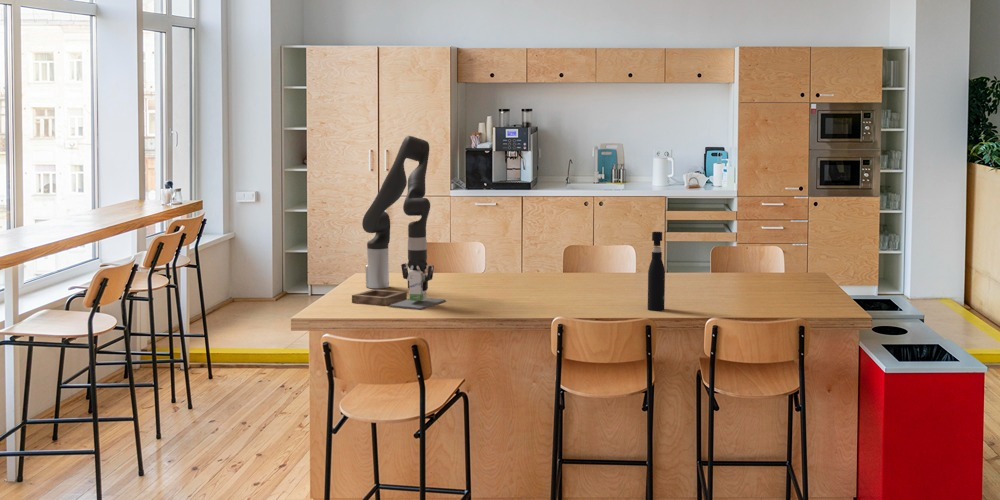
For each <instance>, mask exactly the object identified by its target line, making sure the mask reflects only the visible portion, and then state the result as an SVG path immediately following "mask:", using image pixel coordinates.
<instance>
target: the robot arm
mask: <svg viewBox="0 0 1000 500" xmlns="http://www.w3.org/2000/svg"><path fill="white" fill-rule="evenodd" d="M398 149H399V150H398V152H397V155H396V157H395V159H394V161H393V164H392V165H391V168H390V170H389V171H388V173H387V175H386V177H385V178H384V181H383V183H382V184H381V186H380V189H379V191H378V193H377V195H376V197H374V200H373V201H372V202H371V204H370V206H369V207H368V209H367V210H366V212H365V214H364V216H363V218H362V221H361V222H362V224H361V225H362V229H363V231H364V232H366V233H368V234H374V237H373V238H372V239H370V240H368V241H367V244H366V254H367V258H366V259H367V265H365V288H369V289H387V288H389V287H390V274H389V273H390V271H389V270H390V268H389V267H390V263H389V261H390V260H389V259H390V258H389V254H390V253H389V243H390V242H391V241H390V240H391V218H390V215H389V213H387V211H386V210H387V209H389V208H390V207H391V206H393V205H394V204H395V203H396V202H397V201H398V200H399V199H400V198H401V196H402V195H403V193H404V191H405V190H406V188H407V193H406V197H405V199H404V203H403V205H402V206H403V207H402V209H403V213H404V214H405V215H406V216H409V217H411V216H413V217H418V216H420V218H419V219H418V220H414V221H410V222H409V223H408V225H407V232H408V233H407V236H408V237H407V260H408V261H407V263H406V262H405V263H402V264H401V265H400V266H401V267H400V268H401V273H402V278H403V280H406V281H407V288H408V289H409V271H410V270H417V271H422V272H424V274H423V273H422V280H423V291H426V292H427V290H428V288H429V281H432V280H433V277H434V268H435V266H434V265H433V264H428V262H427V260H428V247H427V246H428V242H427V222H428V217H429V215H430V211H431V202H430V200H429V199H428V198H426V197H425V195H426V175H427V169H428V163H429V158H430V157H429V156H430V143H429V142H428V140H424V139H422V138H419V137H417V136H416V137H415V136H412V135H407V136H405V138H403V141H402V143H401V145H400V147H399V148H398ZM406 159H408V160H410V161H411V160H412V161H415V162H418V165H417V167H416V168H414V170H412V172H411V173H410V174H409V176H408V179H407V176H406V171H405V161H406ZM408 268H409V269H408ZM425 269H426V270H425Z"/></svg>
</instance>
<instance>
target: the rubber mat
mask: <svg viewBox="0 0 1000 500" xmlns="http://www.w3.org/2000/svg"><path fill="white" fill-rule="evenodd" d="M445 302H447V300H446V299H444V298H443V299H441V298H430V297H426V298H424V299H423V300H421V301H410V300H409V299H408V298H407V299H406V300H403V301H400V302H396V303H393V304H390V305H389V308H397V309H406V310H418V311H420V310H425V309H427V308H431V307H434V306H437V305H439V304H443V303H445Z"/></svg>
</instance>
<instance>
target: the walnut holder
mask: <svg viewBox="0 0 1000 500" xmlns="http://www.w3.org/2000/svg"><path fill="white" fill-rule="evenodd" d="M405 300H408V295H407V291H398V290H386V289H385V290H384V289H376V288H372V289H370V290H366V291H362V292H358V293H356V294H351V303H353V304H363V305H373V306H374V305H376V306H390V305H392V304H395V303H398V302H401V301H405Z"/></svg>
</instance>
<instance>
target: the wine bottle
mask: <svg viewBox="0 0 1000 500" xmlns="http://www.w3.org/2000/svg"><path fill="white" fill-rule="evenodd" d="M651 241H652V242H653V247H652V252H651V261H650V263H649V266H648V272H647V274H648V275H647V310H648V311H653V312H660V311H661V312H662V311H664V310H665V300H666V299H665V298H666V297H665V295H666V294H665V291H666V290H665V288H666V287H665V286H666V284H665V283H666V271H665V266H664V262H663V258H662V257H663V252H662V247H661V242H662V241H663V232H662V231H652V233H651Z"/></svg>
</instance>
